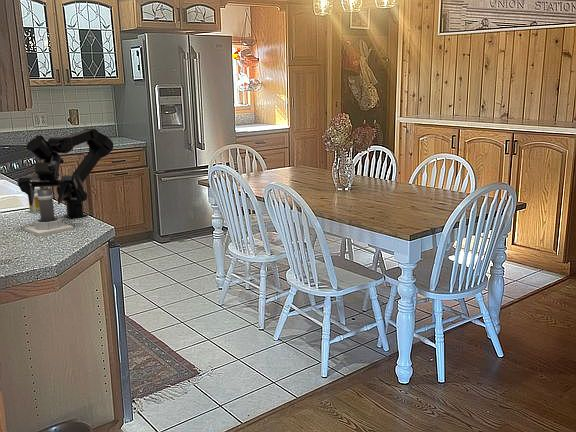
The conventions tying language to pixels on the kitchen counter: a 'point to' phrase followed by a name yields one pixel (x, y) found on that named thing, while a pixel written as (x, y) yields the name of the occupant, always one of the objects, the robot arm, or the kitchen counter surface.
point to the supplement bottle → (35, 202)
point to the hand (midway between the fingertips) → (44, 204)
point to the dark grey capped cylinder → (46, 205)
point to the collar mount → (48, 227)
